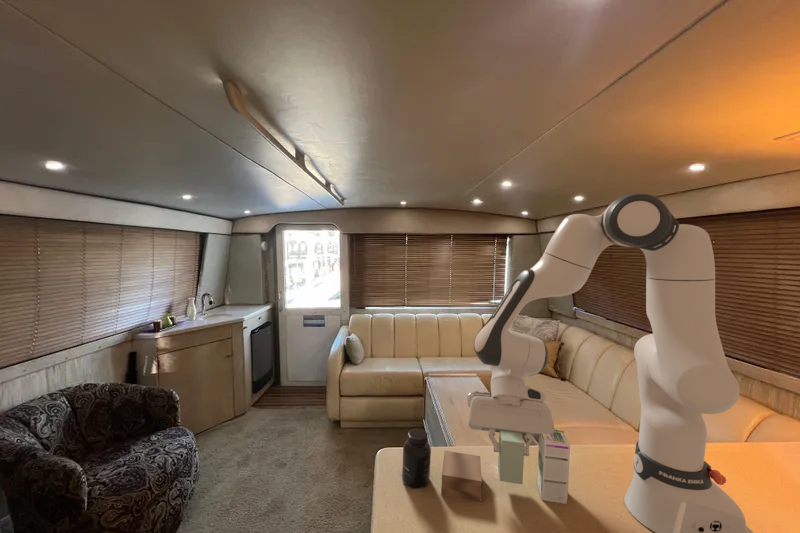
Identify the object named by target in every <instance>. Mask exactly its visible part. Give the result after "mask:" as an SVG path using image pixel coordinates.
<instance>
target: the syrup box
mask: <svg viewBox="0 0 800 533" xmlns="http://www.w3.org/2000/svg"><path fill="white" fill-rule="evenodd" d="M538 438H539V439H538V452H537V453H538V455H537V456H538V458H537V472H536V473H537V474H536V485H537V488H538V492H539V496H540V499H541V500H542V501H545V502H550V503H551V502H552V503H555V504H563V505H567V504H568V494H569V491H568V490H569V478H570V454H571V444H570V441H569V440H568V438H567V436H566V434H565V431H564V430H560V429H555V432H554V433H552V434H547V433H546V434H541V436H540V437H538Z"/></svg>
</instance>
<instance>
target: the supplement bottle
mask: <svg viewBox="0 0 800 533" xmlns="http://www.w3.org/2000/svg"><path fill="white" fill-rule="evenodd" d="M402 448H403V449H402V469H401V471H402V472H401V473H402V474H401V478H402V481H403V483H404V485H406V486H407V487H408V488H411V489H414V490H417V489H418V490H419V489H422V488H425V487H426V486H428V484H429V482H430V476H431V459H432V458H431V456H432V447H431V445H430V443H429V442H428V432H427V431H426V430H425V429H422V428H412V429H410V430H409V431H408V432H407V439H406V441H405V442H404V444H403V447H402Z"/></svg>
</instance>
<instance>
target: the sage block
mask: <svg viewBox="0 0 800 533" xmlns="http://www.w3.org/2000/svg"><path fill="white" fill-rule="evenodd" d="M498 435H499V436H498V437H499V438H498V443H500V448H501V451H500V452H498V456H497V457H498V460H497V461H498V462H497V469H498V476H499V481H500V482H505V483H510V484H517V485H523V480H524V464H525V462H524V460H525V458H524V457H525V456H524V446H526V444H525V440H524V439H525V438H524V437H523V435H522V432H515V431H507V430H500V433H499V434H498Z"/></svg>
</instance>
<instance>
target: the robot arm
mask: <svg viewBox="0 0 800 533" xmlns="http://www.w3.org/2000/svg"><path fill="white" fill-rule="evenodd" d="M610 246H620V247H625V248H636V249H640V250H641V251H642V253H643V255H644V258H645V263H646V270H645V271H646V272H645V273H646V276H645V280H646V283H645V289H646V290H645V299H646V300H645V301H646V302H645V305H646V306H645V311H646V316H647V318H648V320H649V324H650V326H651V330H652V333H649V334H646V335H643V336H642V337H640V338H639V339H638V340H637V341H636V343H635V345H634V347H633V348H634V349H633V355H634V359H635V363H636V369H637V382H638V383H637V384H638V392H639V401H640V402H639V404H640V420H639V431H638V433H639V434H638V441H637V442H636V444H635V448H634V449H635V450H634V456H633V468H634V470H633V471H634V472H633V475H632V479H631V481H630V484H629V486H628V489H627V492H626V493H625V494H624V498H623V501H624V504H625V507H626V509H627V510H628V511H629V513H630V514H631V516H633V517H634V518H635V519H636V520H637V521H638V522H639V523H641V524H642V525H643V526H644V527H646V528H648V529H649V530H650V531H652V532H654V533H754V532H753V531H752V530H751V529H750V528H749V526H748V525H747V522H746V517H745V516H744V512H743V511H742V509H741V508H740V507H739V505H738V504H737V503H736V501H734V499H732V498H731V497H730V495H729V494H728V493H726V491H724V490H723V489H722V488H721V487H720V486H723V485H725V484H726V483H727V478H726V476H724V475H723V474H721V472H720V471H719V470H717V469H713V468H712V466H711V465H710V464H709V463H708V462H706V461H705V454H706V448H707V447H706V445H707V438H708V430H707V429H708V428H707V425H706V422H705V421H704V420H705V419H704V418H703V415H717V414H721V413H724V412H727V411H728V410H730V409H731V408H733V407H734V406H735V405H736V403H737V402H738V400H739V398H740V392H741V391H740V385H739V383H738V380H737V379H736V377H735V376H734V374H733V372H732V371H731V369H730V366H729V363H728V362H727V358H726V354H725V352H724V347H723V345H722V340H721V338H720V337H721V336H720V333H719V330H718V324H717V320H716V319H717V318H716V265H715V256H714V255H715V254H714V250H713V246H712V242H711V237H710V235H709V233H708V232H707V231H706V230H705V229H704V228H702V227H699V226H696V225H693V224H685V223H681V224H680V223H679V221H678V220H677V218H676V217H675V216H674V215H673V213H672V212H671V211H670V209H669V208H668V206H667V205H666V203H664V201H662V199H660V198H659V197H657V196H655V195H653V194H650V193H645V192H634V193H629V194H625V195H623V196H621V197H619V198H617V199H616V200H614V201H613V202H612V203H610V204H609V205H608V207H607V208H606V209H605V210H603V211H602V212H601V213H600V214H599V215H596V216H595V215H589V214H586V213H574V214H570V215H567V216H566V217H565V218H564V219H563V220H562V221H561V222H560V224H559V225H558V227H557V228H556V230H555V231H554V233H553V234H552V236H551V238H550V240H549V242H548V243H547V245H546V248H545V250H544V252H543V254H542V256H541V257H540V259H539V260H538V261H537V262H536V263H535V264H534V265H533V266H532V267H530V269H526V270H523V271H521V272H520V273H519V274H518V276H517V277H516V278H515V279H514V281H513V282H512V283H511V285H510V286H509V288H507V291H506V293H505V294H504V296H503V297H502V299H501V300H500V302H499V303H498V305H497V307H496V308H495V309H494V311H493V313H492V314H491V316H490V317H489V319H488V320H487V321H486V322H485V324H483V325H482V327H481V328H479V331H478V332H477V333H476V336H475V338H474V343H473V350H474V353H475V354H476V356H477V358H478V359H479V360H480V362H481V363H482V364H483V365H488V366H490V367H489V368H490V371H491V378H490V392H486V391H485V392H484V391H478V390H477V391H476V390H475V391H472V392H470V393H469V394H468V395H467V406H468V407H469V412H468V423H467V424H468V426H469V429H471V430H476V431H484V432H488V437H489V440H491V442H492V444H493V452H494V453H499V452H500V451H501V448H500V443H499V441H497V440H496V437H495V436H496V433H499V434H500V430H507V431H515V432H522V436H525V438H524V439H525V441H527V442H526V444H525V445H524V457H530V446H531V444H532V442H533V440H534V438H539V437H540V436H541V434H546V433H547V434H552V433H554V432H555V430H556V429H555V425H554V424H555V423H554V419H553V415H552V411H551V409H550V407H549V405H547V404H546V394H545V393H544V392H543V391H540V390H537V389H535V388H533V387H530V386H527V385H526V383H525V377H532V376H536V375H538V374H540V373H541V372H542V371H544V370H545V369H546V367H548V364H549V351H548V347H547V345H546V343H545V341H544V340H543V339H541V338H538V337H536V336H533V335H530V334H527V333H523V332H522V333H521V332H518V331H515V330H510V328H511V326H512V324H513V323H514V322H515V320H516V318H517V317H518V316H519V314H520V312H521V311H522V310H523V308H524V306H525V305H527V304H528V303H530V302H532V301H535V300H538V299H539V300H540V299H544V298H545V299H546V298H560V297H565V296H569V295H572V294H575V293H576V292H579V290H581V289H582V287H583V286H584V285H585V284H586V282H587V281H588V279H589V277H590V275H591V273H592V271H593V268H594V267H595V264H596V262H597V260H598V258H599V256H600V255H601V253H603V251H604V250H605V249H607V248H609V247H610ZM702 414H703V415H702ZM719 485H720V486H719Z"/></svg>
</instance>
